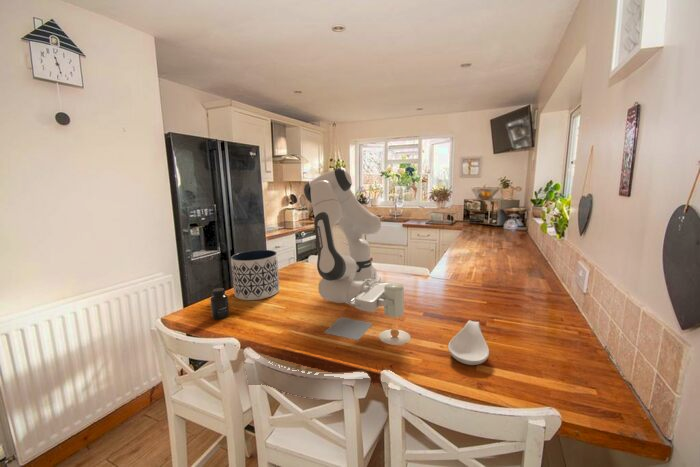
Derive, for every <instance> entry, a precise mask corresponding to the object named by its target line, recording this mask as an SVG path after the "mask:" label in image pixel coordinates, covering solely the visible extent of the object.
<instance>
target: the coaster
mask: <svg viewBox="0 0 700 467" xmlns="http://www.w3.org/2000/svg"><path fill="white" fill-rule="evenodd" d="M392 329H393V328H391V329H385V330H383V331H381V332H380V333H379V335H378V337H379V340H380V341H381V342H383V343H384V344H388V345H392V346H400V345H401V346H402V345H404V344H407V343H409V342H410V341H411V338H412V337H411V334H410V333H408V332H407V331H405V330H402V329H398V331H399V335H398V336H397V337H393V336H392V335H391V333H390V332H391V330H392Z"/></svg>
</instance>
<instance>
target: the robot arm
mask: <svg viewBox="0 0 700 467" xmlns="http://www.w3.org/2000/svg"><path fill="white" fill-rule="evenodd" d="M352 185H353V180H352V176H351V174H350V172H349V171H348V170H347V169H346V168H345V167H342V166H340V167H338V168H335V169H333V170H330V171H327V172H325V173H322V174H321V175H319V176H317V177H316V178H314V179H312V180H310V181H308V182H306V184H305V185H304V188H303V193H304V195H305V196H304V197H305V198H306V200H307V201H308V202H309V203H310V204H311V207H312V212H313V215H314V221H313V222H314V223H313V228H314V234H315V240H316V247H317V261H316V269H317V272H318V274H319V276H320V277H321V279H320V280H319V282H318V285H317V286H318V287H317V288H318V293H319V295H320V297H321V298H322V299H324V300H326V301H328V302H331V303H332V302H333V303H339V304H342V303H345V304H347V305H349V306H352V307H355V309H357V310H360V311H363V312H368V313H369V312H370V313H371V312H372V313H373V312H375V311H376V310H377V309H378V308H379V307H384V306H387V305H388V306H392V305H393V304H394V300H393V299H388V300H384V287H385V285H386V284H389V283H390V282H386V281H381V276H379V275H377V268H376V267H374V266H373V264H372V263H373V262H372V261H374V260H373V259H374V258H373V257H372V256H371V246H370V243H369V242H368V241H367V240H366V239H365V237H364V235H365V236H366V235H367V236H368V235H375V234H377V233H379V231H380V229H381V226H382V222H381V219H380V217H379V216H378V215H377V214H375V213H373V212H371V211H370V210H368V209H367V208H366V207H365V206H363V205H362V203H361V202H360V201H359V200H358V199H357V198H356V196H355V194H354V193H353V191H352V190H351V187H352ZM336 225H338V227H339V230H341V232H343V234H344V236H345V238H346V242H347V245H348V252H349V253H348V254H349V255H346V254H344V253H343V254H342V253H340V252H339V251H338V250H337V248H336V244H335V238H334V234H333V227H334V226H336Z"/></svg>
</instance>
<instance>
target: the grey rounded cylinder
mask: <svg viewBox="0 0 700 467" xmlns="http://www.w3.org/2000/svg"><path fill="white" fill-rule="evenodd" d="M388 283H389V284H386V285H385V287H384V300H388V299H393V300H394V304H393V305H392V306H388V305H387V306H383V308H384V310H383V311H384V315H386V316H387V317H390V318H394V319H395V318H399V317H403V315H404V314H405V301H404V300H405V299H404V298H405V289H404V288H405V287H404V285H403V284H402V283H397V282H388Z"/></svg>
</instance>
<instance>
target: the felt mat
mask: <svg viewBox="0 0 700 467" xmlns="http://www.w3.org/2000/svg"><path fill="white" fill-rule="evenodd" d="M372 325H373V322H371V321H370V322H369V321H363V320H358V319H353V318H347V317H342V316H341V317H339V318H338V319H337V320H336V321H334V323H333V324H331V325H330V326H329V327H328V328H327V329H326V330H325V331H324V332H323V334H328V335H333V336H335V337H342V338H346V339H350V340H356V341H359V340H360V339H361V338H362V336H364V334H365V333H366V332H367V330H369V328H370V327H371V326H372Z"/></svg>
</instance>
